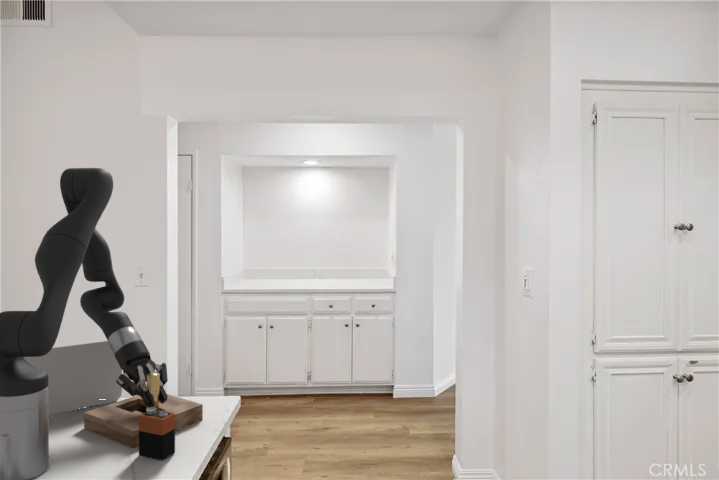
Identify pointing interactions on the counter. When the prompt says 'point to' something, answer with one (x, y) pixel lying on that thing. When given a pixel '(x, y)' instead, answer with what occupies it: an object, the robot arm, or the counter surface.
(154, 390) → the brass peg
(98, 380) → the grey rounded panel
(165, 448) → the battery
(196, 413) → the walnut keyhole plate
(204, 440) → the counter surface
